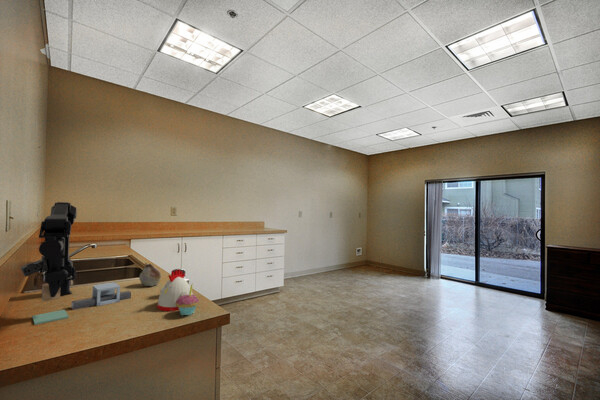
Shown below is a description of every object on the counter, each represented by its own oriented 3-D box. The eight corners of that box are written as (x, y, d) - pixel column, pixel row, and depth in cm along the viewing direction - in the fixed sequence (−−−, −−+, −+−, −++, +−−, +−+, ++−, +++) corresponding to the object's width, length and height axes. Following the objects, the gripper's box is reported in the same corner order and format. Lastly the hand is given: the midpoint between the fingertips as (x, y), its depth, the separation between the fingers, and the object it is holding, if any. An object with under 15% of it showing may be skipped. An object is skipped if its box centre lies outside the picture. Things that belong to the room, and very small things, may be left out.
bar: (71, 308, 111) (71, 301, 111) (128, 297, 126) (128, 290, 126) (73, 310, 109) (73, 303, 109) (130, 299, 124) (131, 292, 124)
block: (41, 298, 101) (42, 284, 101) (57, 295, 104) (58, 282, 104) (43, 301, 98) (43, 287, 98) (59, 298, 101) (60, 284, 101)
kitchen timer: (149, 307, 114) (151, 270, 114) (176, 298, 127) (177, 264, 127) (175, 313, 109) (177, 275, 109) (200, 302, 121) (201, 268, 122)
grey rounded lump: (134, 287, 141) (135, 263, 141) (147, 282, 150) (148, 259, 151) (152, 288, 139) (154, 264, 140) (164, 283, 149) (166, 261, 149)
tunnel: (91, 300, 119) (92, 285, 119) (113, 296, 125) (114, 282, 125) (96, 306, 114) (97, 289, 114) (119, 301, 120) (120, 286, 120)
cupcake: (203, 311, 112) (204, 281, 112) (187, 319, 104) (189, 286, 104) (185, 308, 114) (187, 279, 115) (169, 315, 106) (171, 284, 107)
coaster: (32, 317, 101) (32, 315, 101) (64, 311, 107) (64, 309, 107) (34, 325, 95) (34, 323, 95) (68, 317, 101) (68, 316, 101)
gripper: (21, 251, 102) (18, 293, 102) (25, 258, 89) (22, 307, 89) (61, 248, 110) (58, 288, 110) (69, 255, 98) (67, 299, 97)
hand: (51, 295), depth 101 cm, fingers closed on block, 4 cm apart
